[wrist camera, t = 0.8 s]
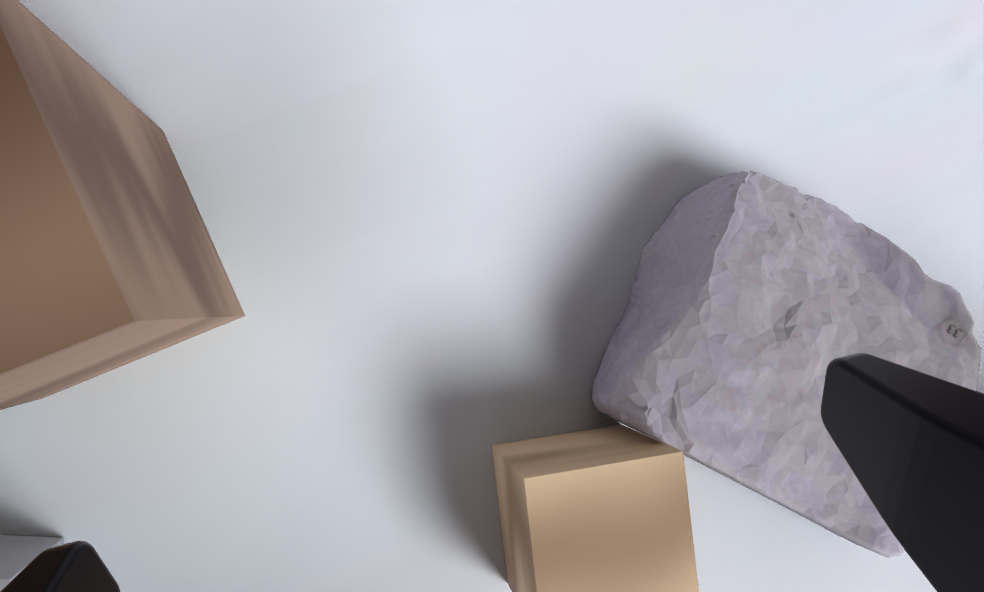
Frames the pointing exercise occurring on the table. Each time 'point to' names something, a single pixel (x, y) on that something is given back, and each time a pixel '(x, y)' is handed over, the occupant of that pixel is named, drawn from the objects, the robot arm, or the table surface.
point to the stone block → (773, 341)
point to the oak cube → (595, 513)
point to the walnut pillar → (89, 224)
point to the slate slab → (21, 553)
